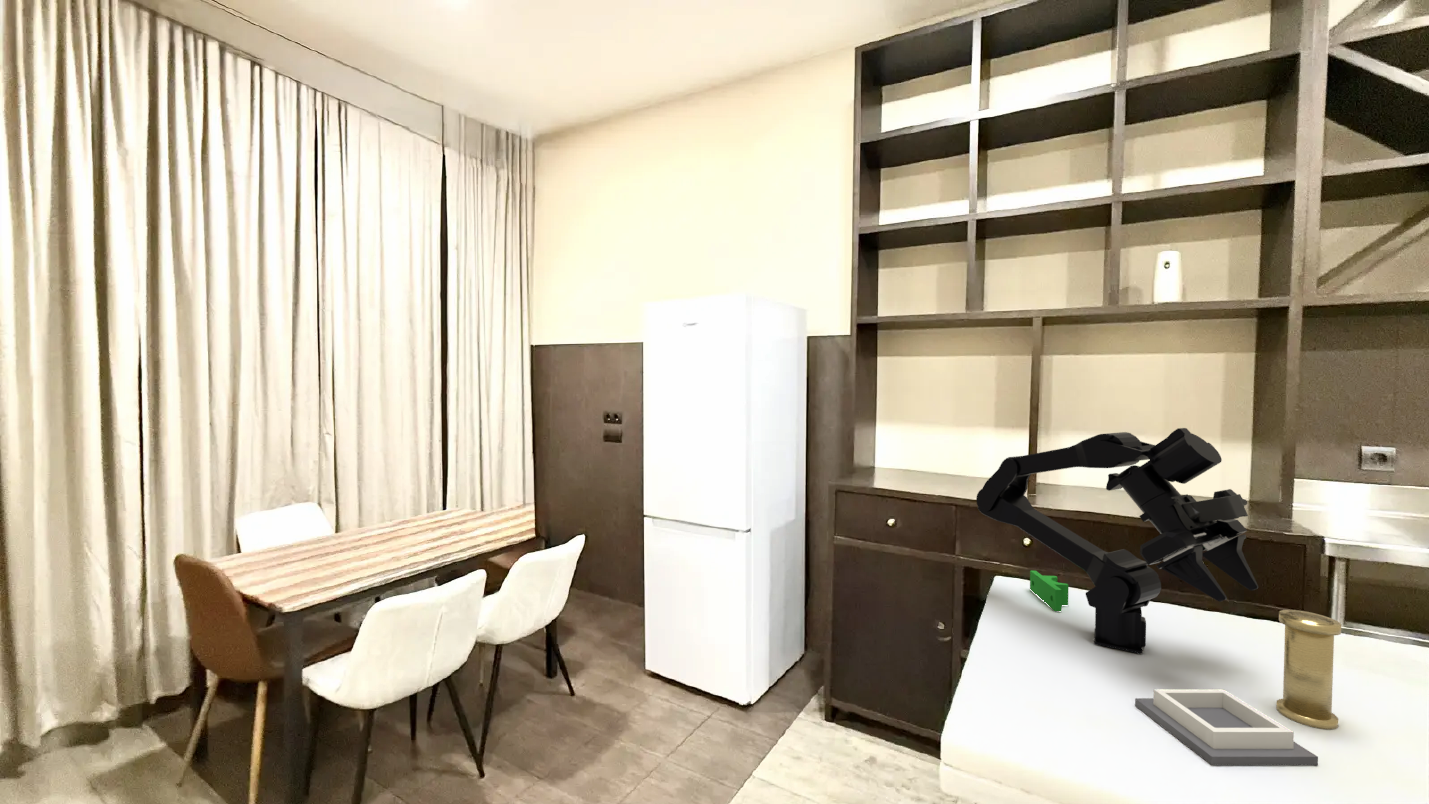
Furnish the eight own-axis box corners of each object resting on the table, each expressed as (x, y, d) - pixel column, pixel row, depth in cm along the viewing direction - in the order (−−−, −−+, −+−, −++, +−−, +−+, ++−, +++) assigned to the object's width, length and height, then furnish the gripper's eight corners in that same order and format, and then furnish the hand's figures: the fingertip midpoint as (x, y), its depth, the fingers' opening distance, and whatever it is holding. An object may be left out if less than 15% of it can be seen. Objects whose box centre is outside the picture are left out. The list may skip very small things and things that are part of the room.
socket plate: (1211, 765, 65) (1212, 739, 65) (1135, 705, 77) (1135, 683, 77) (1317, 765, 65) (1318, 739, 65) (1224, 705, 77) (1225, 683, 77)
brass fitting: (1282, 719, 73) (1284, 620, 73) (1271, 699, 78) (1274, 606, 78) (1344, 734, 70) (1348, 631, 70) (1330, 713, 75) (1333, 616, 74)
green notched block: (1076, 614, 108) (1076, 590, 108) (1055, 613, 108) (1055, 589, 108) (1048, 592, 119) (1049, 570, 119) (1029, 591, 119) (1030, 569, 119)
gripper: (1171, 476, 80) (1265, 581, 71) (1236, 467, 88) (1328, 560, 79) (1107, 516, 88) (1185, 615, 79) (1172, 504, 96) (1249, 592, 87)
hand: (1239, 594), depth 81 cm, fingers open, 9 cm apart
